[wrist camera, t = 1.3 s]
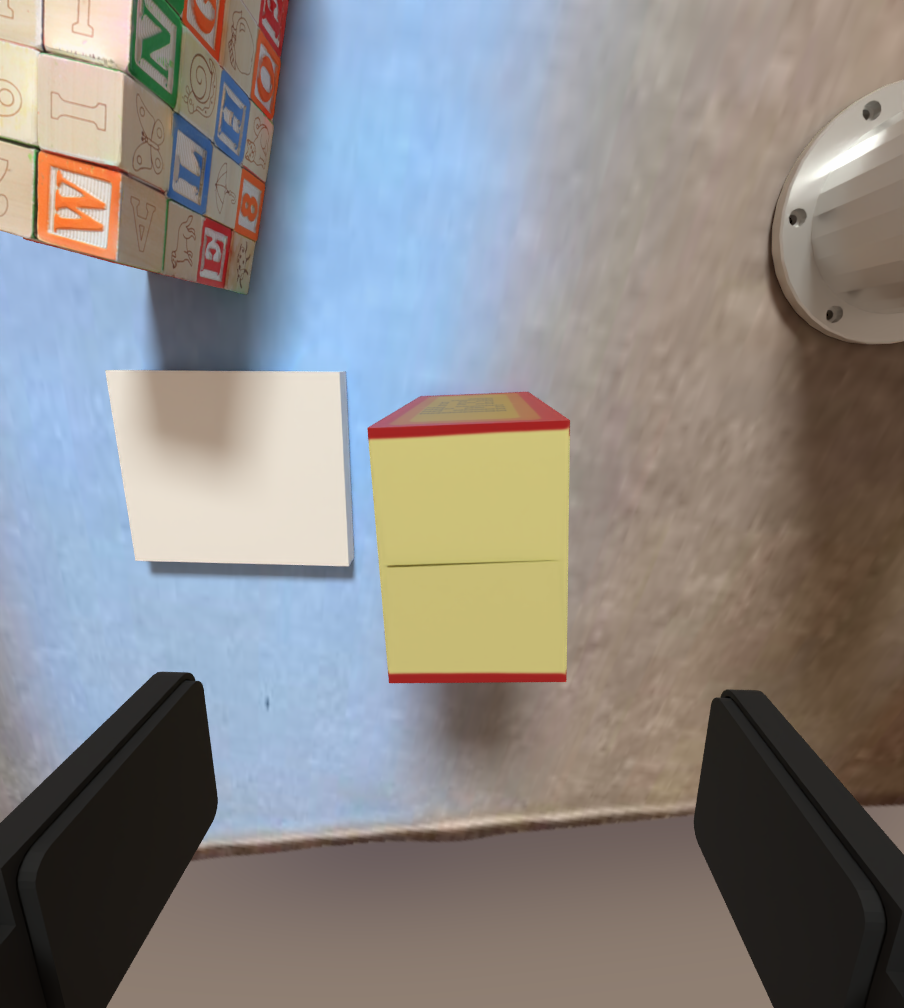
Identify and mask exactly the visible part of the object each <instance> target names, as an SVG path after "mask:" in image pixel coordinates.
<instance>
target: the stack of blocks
mask: <svg viewBox="0 0 904 1008" xmlns="http://www.w3.org/2000/svg"><path fill="white" fill-rule="evenodd" d="M288 3H289V0H0V231H4V232H7V233H11V234H14V235H18V236H21V237H23V239H26V240H29V241H33V242H36V243H41V244H45V245H49V246H53V247H57V248H61V249H64V250H68V251H71V252H75V253H79V254H83V255H87V256H90V257H94V258H97V259H101V260H105V261H108V262H112V263H117V264H121V265H125V266H130V267H134V268H138V269H142V270H146V271H150V272H154V273H157V274H161V275H165V276H171V277H174V278H178V279H182V280H185V281H191V282H195V283H200V284H204V285H208V286H212V287H217V288H223V289H226V290H229V291H233V292H237V293H240V294H245V295H247V294H248V289H249V283H250V276H251V269H252V263H253V256H254V250H255V243H256V241H257V239H258V232H259V226H260V219H261V212H262V205H263V198H264V192H265V183H266V179H267V172H268V167H269V159H270V153H271V146H272V138H273V131H274V125H273V116H274V110H275V101H276V94H277V88H278V80H279V74H280V67H281V60H280V56H281V52H282V45H283V39H284V32H285V25H286V16H287V10H288Z"/></svg>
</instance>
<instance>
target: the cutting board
mask: <svg viewBox="0 0 904 1008" xmlns="http://www.w3.org/2000/svg"><path fill="white" fill-rule="evenodd" d="M105 371H106V378H107V384H108V390H109V396H110V403H111V409H112V415H113V421H114V428H115V434H116V440H117V447H118V453H119V459H120V465H121V472H122V478H123V484H124V491H125V497H126V503H127V509H128V516H129V522H130V528H131V534H132V541H133V547H134V553H135V560H136V561H165V562H204V563H243V564H282V565H321V566H349V565H350V563H351V562H352V560H353V559H354V543H353V521H352V498H351V476H350V454H349V431H348V409H347V387H346V372H331V371H198V370H105Z"/></svg>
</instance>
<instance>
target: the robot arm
mask: <svg viewBox="0 0 904 1008" xmlns="http://www.w3.org/2000/svg"><path fill="white" fill-rule="evenodd" d="M863 116H864V117H863ZM789 217H791V219H792V225H791V224H790V222H789ZM772 256H773V261H774V267H775V273H776V276H777V279H778V281H779V284H780V286H781V289H782V291H783V294H784V295H785V297H786V298H787V300H788V301H789V303H790V304H791V306H792V307H793V309H794V310H795V312H796V313H797V314H798V315H800V316H801V317H802V318H803V319H804V320H805V321H806V322H807V323H808V324H809V325H810V326H812V327H814V328H815V329H817V330H819V331H820V332H822V333H824V334H826V335H827V336H830V337H833V338H836V339H839V340H842V341H845V342H849V343H859V344H869V345H871V344H892V343H898V342H903V341H904V79H903V80H900V81H897V82H894V83H891V84H888V85H885V86H883V87H881V88H879V89H877V90H875V91H874V92H872V93H870V94H868V95H866V96H864V97H862V98H861V99H859V100H857V101H856V102H855V103H853V104H852V105H850V106H849V107H847V108H846V109H845V110H843V111H842V112H840V113H839V114H837V115H836V116H835V117H834V118H833V119H832V120H831V121H830V122H829V123H828V124H826V125H825V126H824V127H823V128H822V129H821V130H820V131H819V132H818V133H817V134H816V135H815V136H814V137H813V139H812V140H811V141H810V143H809V144H808V145H807V146H806V148H805V149H804V150H803V151H802V153H801V154H800V155H799V157H798V159H797V160H796V162H795V164H794V166H793V167H792V169H791V171H790V173H789V174H788V176H787V178H786V180H785V183H784V186H783V188H782V191H781V194H780V196H779V199H778V202H777V205H776V211H775V216H774V221H773V226H772ZM827 312H828V318H827V319H826V313H827ZM217 804H218V797H217V789H216V782H215V774H214V766H213V758H212V751H211V743H210V735H209V727H208V720H207V712H206V704H205V696H204V689H203V685H202V683H201V682H199V681H195V678H194V676H193V675H192V674H191V673H185V672H157V673H156V674H154V675H153V676H152V677H151V678H150V679H149V680H148V681H147V682H146V683H145V684H144V685H143V686H142V687H141V688H140V689H139V690H137V691H136V692H135V693H134V694H133V695H132V696H131V697H130V698H129V699H128V700H127V701H126V702H125V703H124V704H123V705H122V706H121V707H120V708H119V709H118V710H117V711H116V712H115V713H114V714H113V715H112V716H111V717H110V718H109V719H107V720H106V721H105V722H104V723H103V724H102V725H101V726H100V727H99V728H98V729H97V730H96V731H95V732H94V733H93V734H92V735H91V736H90V737H89V738H88V739H87V740H86V741H85V742H84V743H83V744H82V745H81V746H80V747H79V748H78V749H76V750H75V751H74V752H73V753H72V754H71V755H70V756H69V757H68V758H67V759H66V760H65V761H64V762H63V763H62V764H61V765H60V766H59V767H58V768H57V769H56V770H55V771H54V772H53V773H52V774H51V775H50V776H49V777H48V778H46V779H45V780H44V781H43V782H42V783H41V784H40V785H39V786H38V787H37V788H36V789H35V790H34V791H33V792H32V793H31V794H30V795H29V796H28V797H27V798H26V799H25V800H24V801H23V802H22V803H21V804H20V805H19V806H18V807H16V808H15V809H14V810H13V811H12V812H11V813H10V814H9V815H8V816H7V817H6V818H5V819H4V820H3V821H2V822H1V823H0V1008H106V1007H107V1005H108V1003H109V1002H110V1000H111V998H112V996H113V994H114V993H115V991H116V989H117V988H118V986H119V984H120V982H121V981H122V979H123V977H124V975H125V974H126V972H127V970H128V968H129V967H130V965H131V963H132V961H133V960H134V958H135V956H136V955H137V953H138V951H139V949H140V948H141V946H142V944H143V942H144V940H145V939H146V937H147V935H148V934H149V932H150V930H151V928H152V927H153V925H154V923H155V921H156V920H157V918H158V916H159V914H160V912H161V911H162V909H163V908H164V906H165V904H166V902H167V901H168V899H169V897H170V895H171V894H172V892H173V890H174V888H175V887H176V885H177V883H178V881H179V880H180V878H181V876H182V874H183V873H184V871H185V869H186V867H187V866H188V864H189V862H190V861H191V859H192V857H193V855H194V854H195V852H196V850H197V848H198V847H199V845H200V843H201V841H202V840H203V838H204V836H205V834H206V833H207V831H208V829H209V827H210V826H211V824H212V822H213V820H214V817H215V814H216V810H217ZM694 829H695V835H696V839H697V841H698V844H699V846H700V848H701V851H702V853H703V855H704V857H705V860H706V862H707V863H708V866H709V868H710V870H711V873H712V875H713V877H714V879H715V881H716V883H717V886H718V888H719V890H720V892H721V894H722V896H723V898H724V901H725V903H726V905H727V907H728V909H729V911H730V913H731V916H732V918H733V920H734V922H735V925H736V927H737V929H738V931H739V933H740V935H741V937H742V940H743V942H744V944H745V946H746V948H747V951H748V953H749V955H750V957H751V959H752V961H753V964H754V966H755V968H756V970H757V972H758V975H759V977H760V979H761V981H762V983H763V985H764V987H765V990H766V992H767V994H768V996H769V998H770V1001H771V1003H772V1005H773V1007H774V1008H904V855H903V854H902V852H901V851H900V850H899V849H898V848H897V847H896V845H895V844H894V843H893V842H892V841H891V840H890V839H889V837H888V836H887V835H886V834H885V833H884V831H883V830H882V829H881V828H880V827H879V826H878V825H877V823H876V822H875V821H874V820H873V819H872V818H871V817H870V815H869V814H868V813H867V812H866V811H865V810H864V808H863V807H862V806H861V805H860V804H859V803H858V802H857V800H856V799H855V798H854V797H853V796H852V795H851V793H850V792H849V791H848V790H847V789H846V788H845V787H844V785H843V784H842V783H841V782H840V781H839V780H838V778H837V777H836V776H835V775H834V774H833V773H832V772H831V770H830V769H829V768H828V767H827V766H826V765H825V764H824V762H823V761H822V760H821V759H820V758H819V757H818V755H817V754H816V753H815V752H814V751H813V750H812V749H811V747H810V746H809V745H808V744H807V743H806V742H805V740H804V739H803V738H802V737H801V736H800V735H799V734H798V732H797V731H796V730H795V729H794V728H793V727H792V725H791V724H790V723H789V722H788V721H787V720H786V719H785V717H784V716H783V715H782V714H781V713H780V712H779V711H778V709H777V708H776V707H775V706H774V705H773V704H772V702H771V701H770V700H769V699H768V698H767V697H766V696H765V695H764V694H763V693H762V692H761V691H756V690H725V691H723V693H722V694H721V698H714V699H713V701H712V704H711V709H710V716H709V722H708V729H707V735H706V742H705V749H704V755H703V762H702V769H701V775H700V782H699V788H698V795H697V802H696V808H695V815H694Z"/></svg>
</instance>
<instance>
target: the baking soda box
mask: <svg viewBox="0 0 904 1008" xmlns="http://www.w3.org/2000/svg"><path fill="white" fill-rule="evenodd" d="M368 439H369V451H370V463H371V475H372V487H373V498H374V510H375V522H376V534H377V546H378V558H379V569H380V581H381V593H382V605H383V617H384V629H385V640H386V652H387V664H388V676H389V683H478V682H566V668H567V594H568V520H569V446H570V420H569V419H567V418H566V417H564V416H563V415H561V414H560V413H558V412H557V411H555V410H554V409H552V408H551V407H550V406H548V405H547V404H545V403H544V402H542V401H541V400H539V399H538V398H536V397H535V396H533V395H532V394H531V393H529V392H513V393H489V394H464V395H440V396H420V397H418V398H417V399H415V400H413V401H412V402H410V403H408V404H407V405H405V406H403V407H402V408H400V409H398V410H397V411H395V412H393V413H392V414H390V415H388V416H387V417H385V418H383V419H382V420H380V421H378V422H377V423H375V424H373V425H372V426H370V427H368Z"/></svg>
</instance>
